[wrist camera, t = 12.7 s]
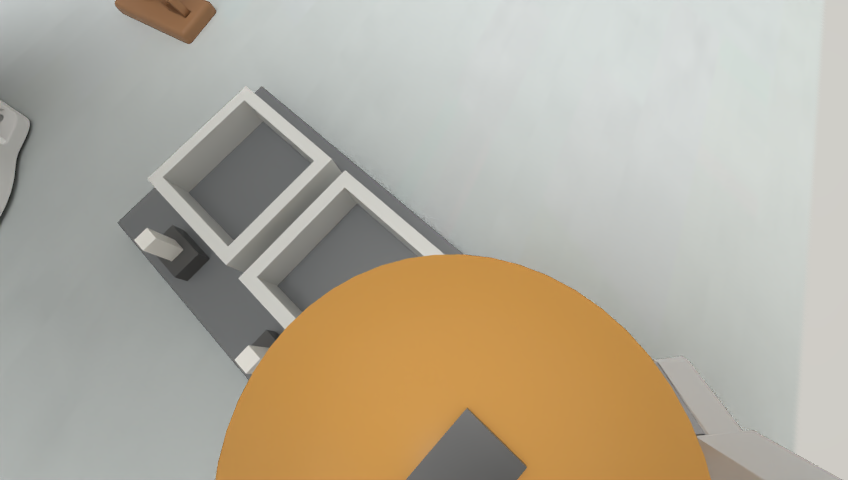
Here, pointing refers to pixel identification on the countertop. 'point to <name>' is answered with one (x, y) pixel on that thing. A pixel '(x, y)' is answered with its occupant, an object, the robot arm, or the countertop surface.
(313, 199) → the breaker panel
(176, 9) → the gingerbread man figurine
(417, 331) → the cap
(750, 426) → the countertop surface
